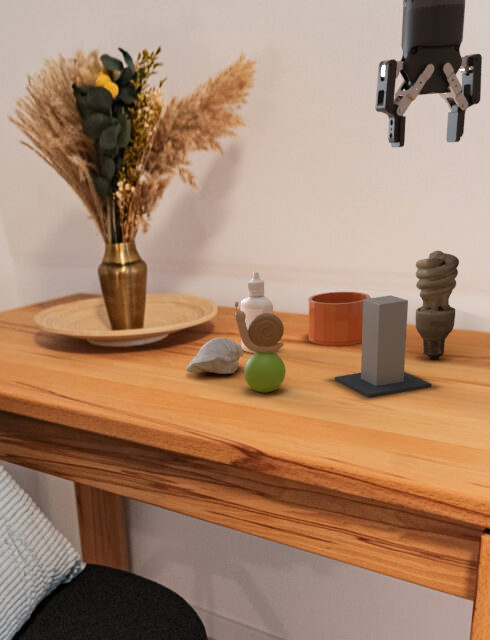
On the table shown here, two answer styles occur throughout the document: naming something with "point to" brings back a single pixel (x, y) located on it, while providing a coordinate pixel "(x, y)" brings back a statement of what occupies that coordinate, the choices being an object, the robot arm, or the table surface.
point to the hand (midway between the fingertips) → (425, 144)
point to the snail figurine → (262, 350)
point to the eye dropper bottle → (255, 303)
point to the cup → (336, 318)
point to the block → (384, 340)
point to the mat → (374, 391)
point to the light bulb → (436, 301)
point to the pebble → (217, 357)
